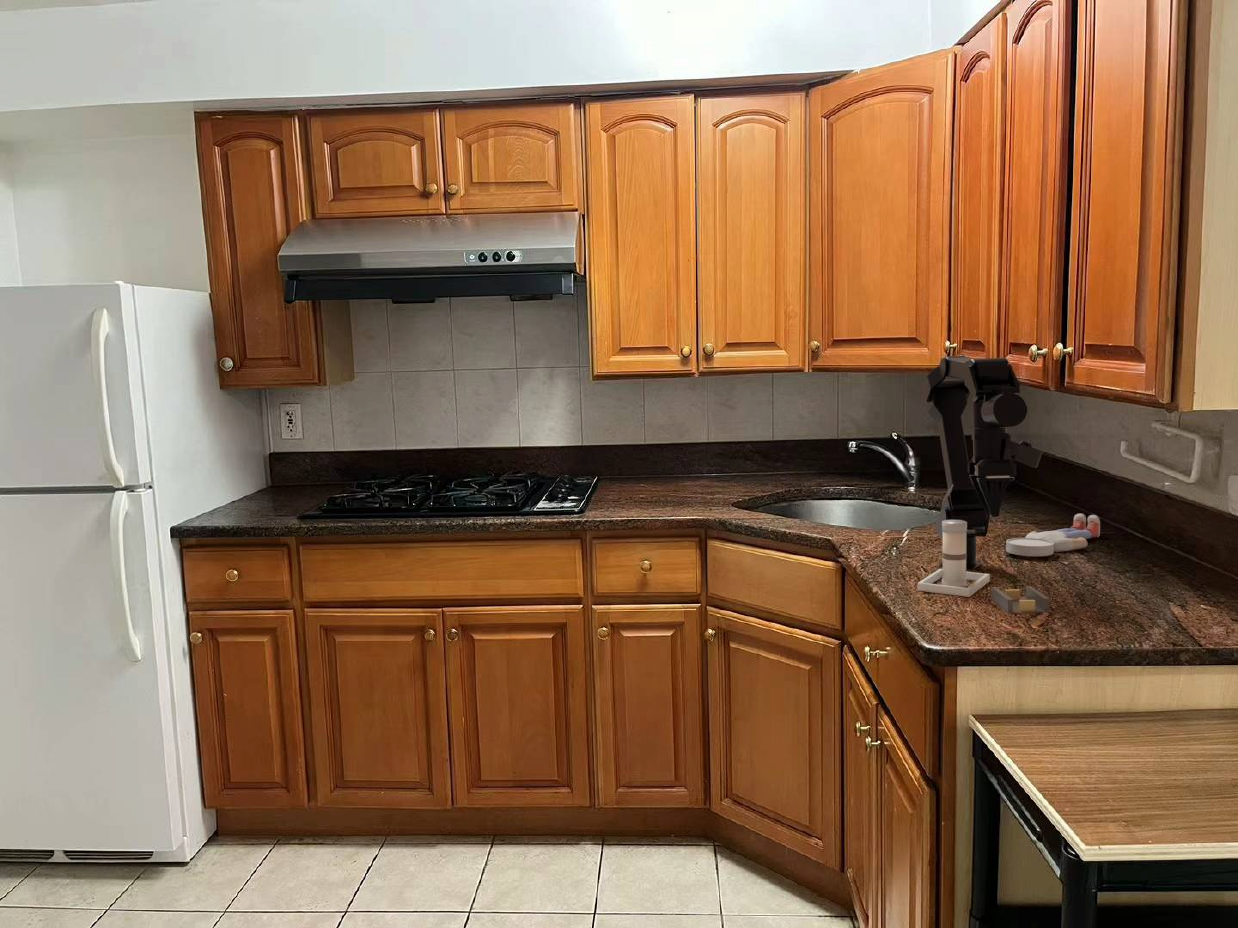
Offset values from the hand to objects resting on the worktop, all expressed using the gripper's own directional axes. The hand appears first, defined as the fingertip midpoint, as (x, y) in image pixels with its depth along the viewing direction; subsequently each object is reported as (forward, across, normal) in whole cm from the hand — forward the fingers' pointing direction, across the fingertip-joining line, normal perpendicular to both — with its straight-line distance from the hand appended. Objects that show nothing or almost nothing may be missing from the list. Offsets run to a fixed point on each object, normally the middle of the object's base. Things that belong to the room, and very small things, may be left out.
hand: (992, 514), depth 174 cm
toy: (+10, +37, -16) cm, 42 cm away
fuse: (+13, -2, +7) cm, 15 cm away
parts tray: (+14, -2, +7) cm, 16 cm away
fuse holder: (+15, -14, -2) cm, 21 cm away
